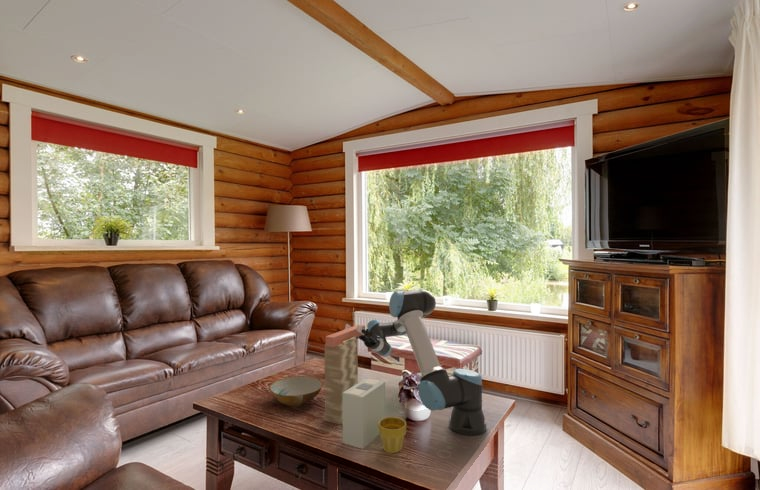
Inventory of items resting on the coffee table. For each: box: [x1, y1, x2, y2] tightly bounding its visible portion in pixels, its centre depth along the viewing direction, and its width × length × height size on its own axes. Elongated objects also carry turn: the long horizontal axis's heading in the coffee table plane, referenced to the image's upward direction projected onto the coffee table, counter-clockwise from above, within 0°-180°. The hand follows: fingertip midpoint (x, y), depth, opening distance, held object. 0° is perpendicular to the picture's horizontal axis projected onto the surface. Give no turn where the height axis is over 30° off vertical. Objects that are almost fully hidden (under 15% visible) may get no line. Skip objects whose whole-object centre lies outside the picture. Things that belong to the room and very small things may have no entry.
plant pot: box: [379, 416, 407, 454], centre depth 150 cm, size 10×10×10 cm
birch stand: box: [323, 337, 359, 426], centre depth 178 cm, size 15×9×34 cm, turn 151°
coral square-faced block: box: [325, 324, 366, 347], centre depth 181 cm, size 26×4×4 cm, turn 151°
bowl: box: [268, 375, 324, 407], centre depth 193 cm, size 25×25×8 cm
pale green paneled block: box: [342, 377, 386, 450], centre depth 160 cm, size 18×9×20 cm, turn 151°
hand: (351, 327), depth 185 cm, fingers open, 6 cm apart
